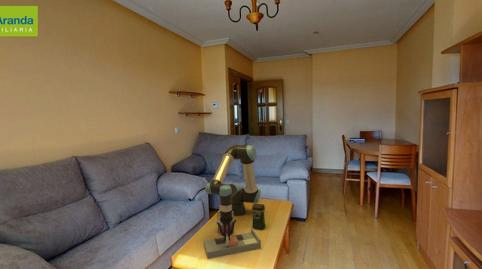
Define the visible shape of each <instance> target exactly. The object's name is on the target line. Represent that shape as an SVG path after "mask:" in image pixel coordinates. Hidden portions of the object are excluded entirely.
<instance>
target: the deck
mask: <svg viewBox="0 0 482 269" xmlns="http://www.w3.org/2000/svg"><path fill="white" fill-rule="evenodd" d="M234 236H236V238H237V240H238V246H235V247H228V246H226V243H225V241H224V236H222V237H218V238H213V239H207V240H203V246H204V250H205V253H206V257H207V259H208V260H209V259H213V258H218V257H219V258H220V257H223V256H228V255H229V256H230V255H233V254H238V253H244V252H248V251H254V250H258V249H259V250H260V249H262V246H261V245H262V239H261V238H260V237H259V236H258V235H257V233H256V232H255V230H254V228H253V227H252V228H250V232H246V233H240V234H234V235H230V237H234Z"/></svg>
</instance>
